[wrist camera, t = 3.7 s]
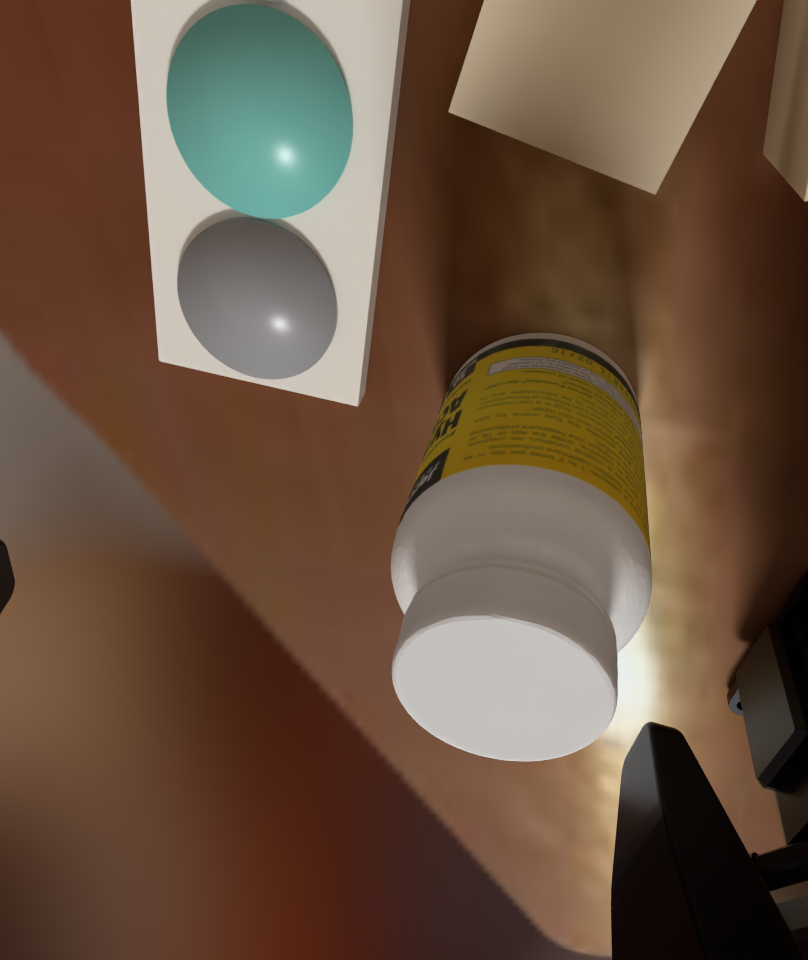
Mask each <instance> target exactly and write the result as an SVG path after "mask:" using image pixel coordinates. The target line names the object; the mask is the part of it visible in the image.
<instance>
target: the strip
mask: <svg viewBox="0 0 808 960" xmlns="http://www.w3.org/2000/svg"><path fill="white" fill-rule="evenodd" d="M131 9H132V22H133V34H134V47H135V60H136V73H137V85H138V98H139V111H140V124H141V136H142V149H143V162H144V175H145V187H146V200H147V213H148V226H149V238H150V251H151V264H152V277H153V289H154V302H155V315H156V328H157V340H158V353H159V361H161V362H166V363H170V364H174V365H179V366H183V367H187V368H192V369H196V370H201V371H205V372H209V373H214V374H218V375H222V376H227V377H231V378H236V379H240V380H244V381H249V382H253V383H257V384H262V385H266V386H271V387H275V388H279V389H284V390H288V391H292V392H297V393H301V394H306V395H310V396H314V397H319V398H323V399H327V400H332V401H336V402H341V403H345V404H349V405H354V406H358V405H359V403H360V402H361V400H362V398H363V396H364V394H365V388H366V380H367V371H368V362H369V354H370V345H371V337H372V328H373V319H374V311H375V302H376V293H377V285H378V276H379V267H380V259H381V250H382V242H383V233H384V224H385V216H386V207H387V198H388V190H389V181H390V173H391V164H392V155H393V147H394V138H395V129H396V121H397V112H398V104H399V95H400V86H401V78H402V69H403V60H404V52H405V43H406V35H407V26H408V17H409V9H410V0H131Z"/></svg>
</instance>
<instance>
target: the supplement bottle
mask: <svg viewBox="0 0 808 960" xmlns="http://www.w3.org/2000/svg"><path fill="white" fill-rule="evenodd" d="M391 576H392V582H393V587H394V591H395V595H396V598H397V600H398V602H399V605H400V607H401V609H402V611H403V613H404V618H403V622H402V626H401V632H400V635H399V639H398V642H397V645H396V649H395V652H394V656H393V662H392V680H393V685H394V688H395V691H396V694H397V696H398V698H399V700H400V702H401V703H402V705H403V706H404V708H405V709H406V711H407V712H408V713H409V714H410V715H411V717H412V718H413V719H414V720H415V721H416V722H417V723H418V724H419V725H420V726H422V727H423V728H424V729H426V730H427V731H428V732H430V733H431V734H432V735H434V736H435V737H437V738H439V739H441V740H442V741H444V742H446V743H448V744H450V745H452V746H454V747H457V748H459V749H462V750H464V751H467V752H470V753H473V754H476V755H480V756H484V757H489V758H493V759H500V760H507V761H541V760H548V759H553V758H558V757H562V756H565V755H568V754H571V753H574V752H576V751H578V750H580V749H582V748H584V747H586V746H588V745H589V744H591V743H592V742H593V741H595V740H596V739H597V738H598V737H599V736H600V735H601V734H602V733H603V732H604V731H605V730H606V728H607V727H608V725H609V724H610V722H611V720H612V718H613V716H614V713H615V710H616V705H617V696H618V693H617V678H618V670H617V653H618V652H619V651H620V650H621V649H622V648H623V647H625V646H626V644H627V643H628V642H629V641H630V640H631V639H632V637H633V636H634V635H635V633H636V632H637V631H638V629H639V627H640V625H641V623H642V621H643V619H644V617H645V615H646V612H647V609H648V606H649V602H650V596H651V588H652V570H651V550H650V538H649V524H648V510H647V495H646V482H645V470H644V457H643V443H642V431H641V420H640V414H639V408H638V403H637V399H636V396H635V394H634V391H633V389H632V386H631V384H630V382H629V380H628V379H627V377H626V376H625V374H624V373H623V371H622V370H621V369H620V368H619V366H618V365H617V364H616V363H615V362H614V361H613V360H612V359H611V358H609V357H608V356H607V355H606V354H604V353H603V352H602V351H600V350H599V349H597V348H595V347H594V346H592V345H590V344H588V343H586V342H584V341H581V340H579V339H576V338H573V337H570V336H566V335H561V334H554V333H526V334H520V335H515V336H511V337H507V338H504V339H501V340H498V341H496V342H494V343H492V344H490V345H488V346H486V347H484V348H483V349H481V350H480V351H478V352H477V353H476V354H474V355H473V356H472V357H471V358H470V359H469V360H468V361H467V362H466V363H465V364H464V365H463V366H462V367H461V368H460V370H459V371H458V372H457V374H456V375H455V377H454V379H453V380H452V382H451V384H450V386H449V388H448V391H447V393H446V395H445V397H444V400H443V403H442V405H441V408H440V411H439V414H438V418H437V420H436V423H435V426H434V429H433V432H432V434H431V437H430V440H429V443H428V446H427V449H426V452H425V454H424V457H423V460H422V463H421V465H420V468H419V471H418V474H417V477H416V480H415V482H414V485H413V488H412V491H411V493H410V496H409V499H408V501H407V504H406V507H405V510H404V512H403V515H402V517H401V520H400V523H399V525H398V528H397V534H396V537H395V541H394V545H393V549H392V555H391Z"/></svg>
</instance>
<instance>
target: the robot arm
mask: <svg viewBox="0 0 808 960" xmlns="http://www.w3.org/2000/svg"><path fill="white" fill-rule="evenodd" d="M14 586H15V579H14V575H13V571H12V567H11V562H10V558H9V554H8V550H7V547H6V545H5V543H4V542H3V541H2V540H0V613H1V612H2V610H3V609H4V607H5V605H6V604H7V603H8V601H9V599H10V598H11V596H12V593H13V590H14ZM727 700H728V705H729V708H730V710H731V711H732V712H734V713H736V714H738V715H742V716H744V721H745V726H746V731H747V736H748V741H749V746H750V751H751V756H752V761H753V766H754V771H755V776H756V779H757V780H758V782H759V784H760V785H761V787H763V788H765V789H769V790H773V791H774V795H775V800H776V805H777V809H778V814H779V818H780V823H781V828H782V832H783V837H784V842H785V846H784V847H781V848H778V849H775V850H772V851H769V852H766V853H763V854H759V855H758V854H757V853H755V852H754V853H751V854H748V852H747V850H746V848H745V846H744V844H743V843H742V841H741V839H740V837H739V835H738V834H737V832H736V830H735V828H734V826H733V825H732V823H731V821H730V819H729V817H728V815H727V814H726V812H725V810H724V808H723V806H722V805H721V803H720V801H719V799H718V797H717V796H716V794H715V792H714V790H713V788H712V786H711V785H710V783H709V781H708V779H707V777H706V776H705V774H704V772H703V770H702V768H701V766H700V765H699V763H698V761H697V759H696V757H695V756H694V754H693V752H692V750H691V748H690V747H689V745H688V743H687V741H686V739H685V737H684V736H683V734H682V733H681V732H680V731H679V730H677V729H675V728H672V727H668V726H665V725H661V724H658V723H654V722H648V723H646V724H645V725H644V726H643V728H642V729H641V731H640V733H639V735H638V736H637V738H636V740H635V742H634V744H633V745H632V747H631V749H630V751H629V752H628V754H627V756H626V758H625V761H624V765H623V769H622V775H621V786H620V797H619V808H618V819H617V829H616V840H615V851H614V862H613V873H612V887H611V934H612V960H808V573H807V574H806V575H805V576H804V577H803V578H802V579H801V580H800V582H799V584H798V585H797V587H796V588H795V590H794V591H793V593H792V594H791V596H790V597H789V599H788V601H787V602H786V604H785V605H784V607H783V608H782V610H781V611H780V613H779V614H778V616H777V617H776V619H775V621H772V622H771V623H769V624H768V625H766V627H765V628H764V630H763V631H762V633H761V634H760V636H759V638H758V639H757V641H756V642H755V644H754V645H753V647H752V648H751V650H750V652H749V653H748V655H747V656H746V658H745V659H744V661H743V662H742V664H741V666H740V667H739V669H738V670H737V672H736V681H735V682H734V684H733V685H732V687H731V688H730V690H729V692H728V694H727Z"/></svg>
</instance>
